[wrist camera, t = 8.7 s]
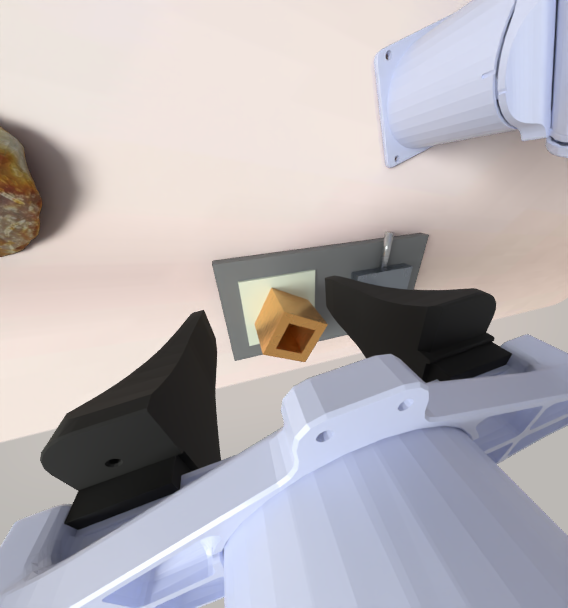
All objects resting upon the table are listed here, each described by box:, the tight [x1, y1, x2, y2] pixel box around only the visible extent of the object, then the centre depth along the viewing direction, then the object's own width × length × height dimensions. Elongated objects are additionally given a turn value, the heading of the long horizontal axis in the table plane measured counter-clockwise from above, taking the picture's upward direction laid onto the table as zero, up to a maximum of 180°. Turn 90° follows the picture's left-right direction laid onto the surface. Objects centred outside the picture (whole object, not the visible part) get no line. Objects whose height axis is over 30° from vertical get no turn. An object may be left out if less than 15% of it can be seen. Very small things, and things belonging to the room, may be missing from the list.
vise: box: [351, 232, 413, 289], centre depth 23 cm, size 7×10×4 cm
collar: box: [255, 288, 328, 362], centre depth 21 cm, size 5×5×5 cm
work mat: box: [212, 233, 429, 361], centre depth 25 cm, size 24×12×2 cm, turn 93°
